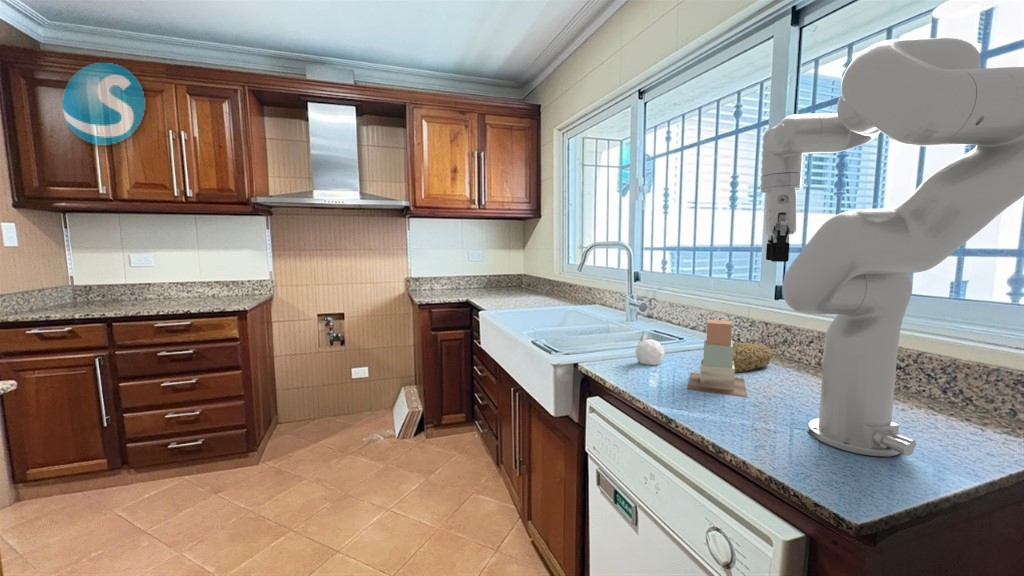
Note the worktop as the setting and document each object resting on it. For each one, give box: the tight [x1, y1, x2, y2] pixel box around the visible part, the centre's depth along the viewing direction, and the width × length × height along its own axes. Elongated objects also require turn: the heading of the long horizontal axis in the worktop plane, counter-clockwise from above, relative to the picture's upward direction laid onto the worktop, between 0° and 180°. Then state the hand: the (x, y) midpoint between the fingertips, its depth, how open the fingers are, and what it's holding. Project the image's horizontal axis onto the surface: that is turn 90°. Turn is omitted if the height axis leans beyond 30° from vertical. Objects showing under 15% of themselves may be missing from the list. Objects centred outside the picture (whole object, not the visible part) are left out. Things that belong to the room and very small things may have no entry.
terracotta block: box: [706, 319, 733, 346], centre depth 96 cm, size 5×5×5 cm
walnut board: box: [687, 371, 748, 399], centre depth 97 cm, size 14×12×1 cm
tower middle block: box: [702, 338, 734, 368], centre depth 96 cm, size 6×6×5 cm
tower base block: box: [700, 357, 736, 391], centre depth 97 cm, size 7×7×5 cm
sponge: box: [733, 342, 773, 373], centre depth 113 cm, size 13×8×20 cm
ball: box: [634, 339, 665, 366], centre depth 115 cm, size 8×8×8 cm
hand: (776, 260), depth 93 cm, fingers open, 9 cm apart
